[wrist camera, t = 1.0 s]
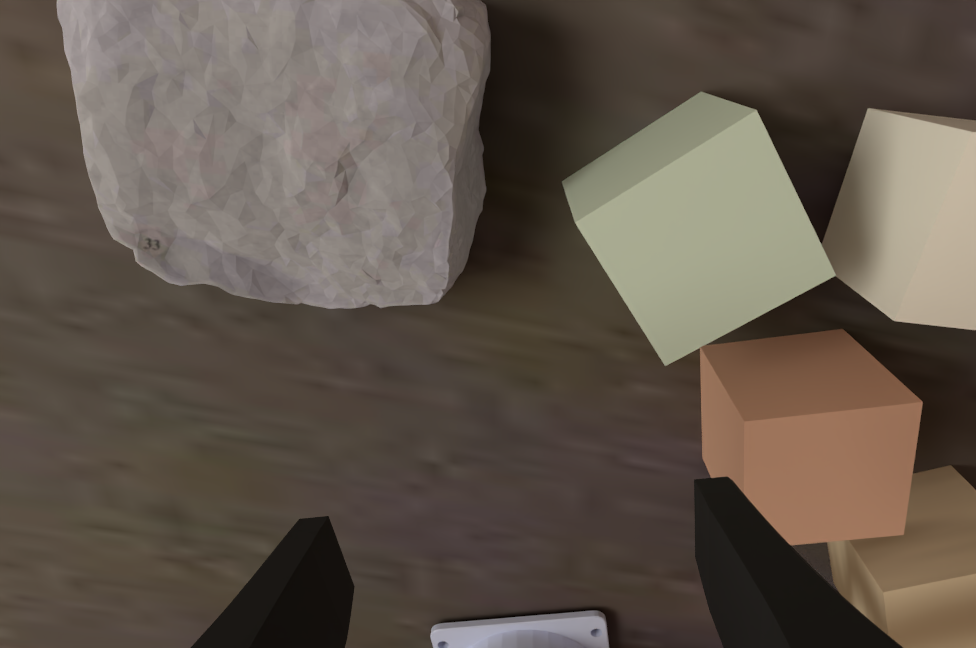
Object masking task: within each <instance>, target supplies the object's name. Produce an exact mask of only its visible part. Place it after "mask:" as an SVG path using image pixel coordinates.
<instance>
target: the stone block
mask: <svg viewBox="0 0 976 648" xmlns="http://www.w3.org/2000/svg"><path fill="white" fill-rule="evenodd" d="M57 13H58V19H59V21H60V24H61V26H62V28H63V38H64V51H65V54H66V57H67V60H68V63H69V65H70V68H71V74H72V83H73V89H74V94H75V99H76V106H77V113H78V118H79V123H80V128H81V136H82V144H83V152H84V158H85V162H86V166H87V170H88V174H89V178H90V181H91V184H92V187H93V189H94V192H95V195H96V199H97V203H98V208H99V210H100V212H101V214H102V216H103V219H104V221H105V224H106V227H107V229H108V231H109V232H110V234H111V236H112V238H113V239H114V240H116V241H118V242H120V243H121V244H123V245H125V246H127V247H129V248H131V249H133V250H134V255H135V260H136V262H137V263H138V264H140V265H141V266H142V267H144V268H146V269H148V270H150V271H151V272H153V273H155V274H156V275H157V276H159V277H160V278H162V279H163V280H165V281H166V282H168V283H172V284H176V285H180V286H182V285H192V284H202V283H204V284H209V285H213V286H218V287H220V288H221V289H223V290H225V291H226V292H228V293H231V294H233V295H238V296H242V297H247V298H253V299H259V300H263V301H267V302H276V303H289V304H300V303H305V304H308V305H312V306H318V307H324V308H328V309H333V308H345V309H350V308H359V307H365V306H367V305H369V304H373V305H376V306H378V307H380V308H383V307H387V306H398V305H404V306H406V305H427V304H433V303H436V302H438V301H439V300H440V299H441V298H442V297H443V296H444V295H445V294H446V293H447V291H448V290H449V289H450V288H451V287H452V286H453V284H454V282H455V281H456V279H457V277H458V276H459V275H460V274H461V273H462V272H463V270H464V267H465V265H466V262H467V260H468V257H469V250H470V247H471V245H472V242H473V237H474V232H475V227H476V223H477V220H478V217H479V215H480V213H481V212H482V210H483V200H484V196H485V193H486V185H485V175H484V168H483V157H482V154H483V151H484V146H483V143H482V140H481V136H480V133H479V130H478V129H479V119H480V113H481V108H482V103H483V94H484V90H485V83H486V80H487V78H488V75H489V73H490V62H491V33H490V29H489V24H488V15H487V8H486V4H484V3H483V2H482V1H481V0H57Z"/></svg>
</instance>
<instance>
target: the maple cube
mask: <svg viewBox="0 0 976 648" xmlns="http://www.w3.org/2000/svg"><path fill="white" fill-rule="evenodd" d="M827 544H828V550H829V556H830V563H831V569H832V575H833V581H834V584H835V586H836V587H837V589H838V591H839V592H840V594H841V595H842V596H843V597H844V598H845V599H846V600H848V601H849V602H850V603H851V604H852V605H853V606H854V607H855V608H856V609H858V610H859V611H860V612H861V613H862V614H863V615H864V616H866V617H867V618H868V619H869V620H870V621H871V622H873V623H874V624H875V625H876V626H877V627H879V628H880V629H881V630H882V631H883V632H885V633H886V634H887V635H888V636H890V637H891V638H892V639H893V640H895V641H896V642H897V643H898V644H900V645H901V646H902V647H903V648H976V490H975V489H974V488H973V487H972V486H971V485H970V484H969V483H968V482H967V481H966V480H965V479H964V478H963V477H962V476H961V475H960V474H959V473H958V472H957V471H956V470H955V469H954V468H953V467H952V466H951V465H949V466H945V467H940V468H936V469H932V470H927V471H923V472H919V473H914V474H912V481H911V488H910V495H909V502H908V509H907V516H906V523H905V530H904V535H898V536H887V537H876V538H865V539H854V540H843V541H832V542H827Z"/></svg>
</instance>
